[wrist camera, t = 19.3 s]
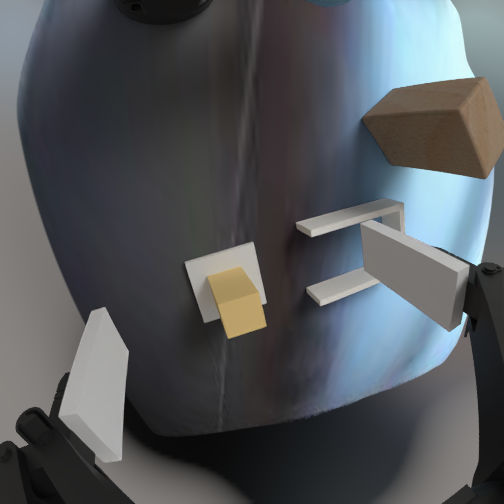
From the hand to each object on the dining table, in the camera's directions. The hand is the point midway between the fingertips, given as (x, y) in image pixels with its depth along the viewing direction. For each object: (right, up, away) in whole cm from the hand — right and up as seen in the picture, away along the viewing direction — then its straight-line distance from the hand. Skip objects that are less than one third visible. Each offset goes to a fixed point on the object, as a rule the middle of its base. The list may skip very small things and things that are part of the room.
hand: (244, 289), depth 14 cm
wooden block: (+24, +23, +31) cm, 45 cm away
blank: (-3, -3, +30) cm, 31 cm away
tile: (-3, -3, +31) cm, 31 cm away
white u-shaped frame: (+16, +3, +34) cm, 38 cm away
